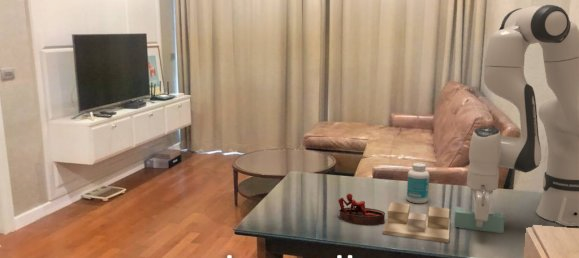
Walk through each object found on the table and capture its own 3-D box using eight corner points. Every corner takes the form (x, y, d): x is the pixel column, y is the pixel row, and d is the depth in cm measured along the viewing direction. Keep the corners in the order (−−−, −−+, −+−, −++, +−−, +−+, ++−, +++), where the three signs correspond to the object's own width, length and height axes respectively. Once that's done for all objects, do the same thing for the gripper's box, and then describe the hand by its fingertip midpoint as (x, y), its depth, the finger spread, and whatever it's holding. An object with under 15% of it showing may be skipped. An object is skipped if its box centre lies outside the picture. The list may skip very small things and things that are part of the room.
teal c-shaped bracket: (500, 218, 157) (501, 204, 156) (503, 233, 146) (504, 217, 145) (454, 213, 162) (455, 199, 161) (454, 227, 151) (455, 212, 150)
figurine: (337, 225, 153) (337, 192, 155) (339, 226, 162) (339, 195, 164) (385, 226, 150) (384, 192, 153) (384, 227, 159) (383, 195, 162)
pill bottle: (430, 204, 170) (432, 167, 168) (409, 204, 171) (411, 167, 168) (424, 197, 178) (426, 161, 175) (404, 197, 178) (406, 161, 175)
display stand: (449, 222, 154) (450, 207, 153) (448, 243, 139) (449, 226, 138) (389, 215, 160) (390, 200, 159) (382, 234, 146) (383, 218, 145)
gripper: (496, 192, 135) (492, 238, 138) (491, 172, 154) (488, 213, 157) (472, 190, 138) (468, 235, 140) (470, 170, 156) (467, 211, 159)
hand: (478, 223), depth 149 cm, fingers closed on teal c-shaped bracket
